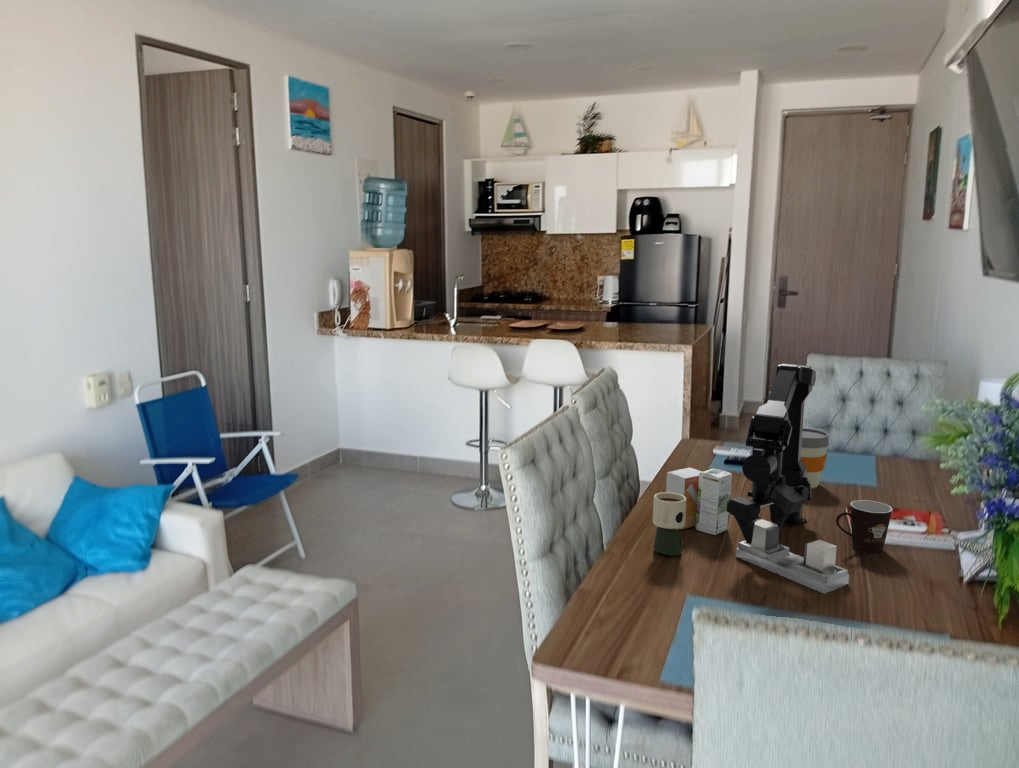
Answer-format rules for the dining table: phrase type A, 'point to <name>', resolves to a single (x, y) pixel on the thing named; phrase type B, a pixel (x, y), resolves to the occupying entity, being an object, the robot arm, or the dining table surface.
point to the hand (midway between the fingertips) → (762, 538)
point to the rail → (800, 564)
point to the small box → (685, 491)
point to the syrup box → (713, 501)
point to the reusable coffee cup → (814, 453)
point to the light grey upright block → (765, 536)
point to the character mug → (668, 522)
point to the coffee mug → (868, 525)
